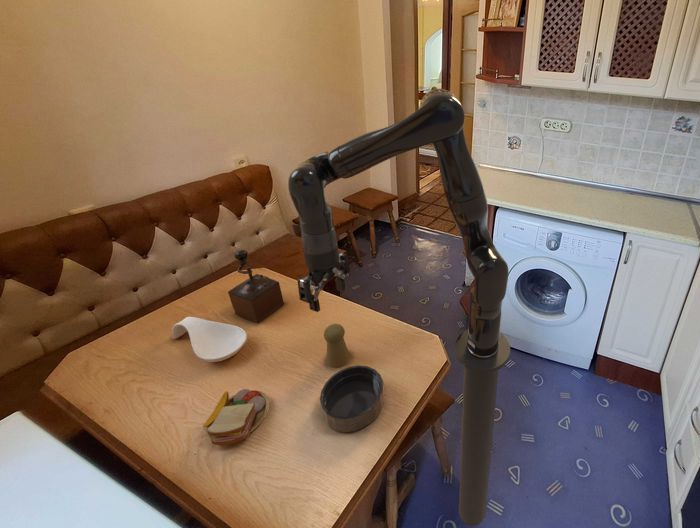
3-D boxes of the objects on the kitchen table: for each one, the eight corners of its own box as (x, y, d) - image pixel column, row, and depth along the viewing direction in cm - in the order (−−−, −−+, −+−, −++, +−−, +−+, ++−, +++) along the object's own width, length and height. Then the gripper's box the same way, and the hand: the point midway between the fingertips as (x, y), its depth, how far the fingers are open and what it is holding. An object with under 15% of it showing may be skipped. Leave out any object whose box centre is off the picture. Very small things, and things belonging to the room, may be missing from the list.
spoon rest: (258, 342, 102) (253, 323, 99) (220, 375, 92) (213, 354, 89) (199, 321, 109) (192, 303, 106) (158, 349, 99) (149, 329, 96)
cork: (350, 364, 96) (346, 333, 92) (326, 370, 95) (321, 339, 90) (349, 348, 102) (344, 318, 97) (326, 353, 100) (321, 323, 95)
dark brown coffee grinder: (287, 303, 118) (276, 257, 111) (257, 324, 109) (244, 276, 101) (253, 290, 123) (241, 246, 116) (223, 310, 114) (207, 263, 107)
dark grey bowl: (350, 371, 94) (348, 357, 92) (395, 391, 89) (394, 377, 87) (309, 418, 82) (306, 403, 80) (358, 444, 77) (356, 429, 75)
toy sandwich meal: (280, 393, 88) (276, 380, 86) (250, 450, 76) (245, 436, 74) (229, 393, 88) (224, 379, 86) (190, 449, 75) (184, 435, 73)
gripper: (308, 264, 76) (319, 322, 82) (353, 235, 88) (359, 288, 94) (283, 255, 78) (295, 313, 85) (329, 228, 90) (337, 281, 97)
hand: (328, 300), depth 90 cm, fingers open, 8 cm apart
